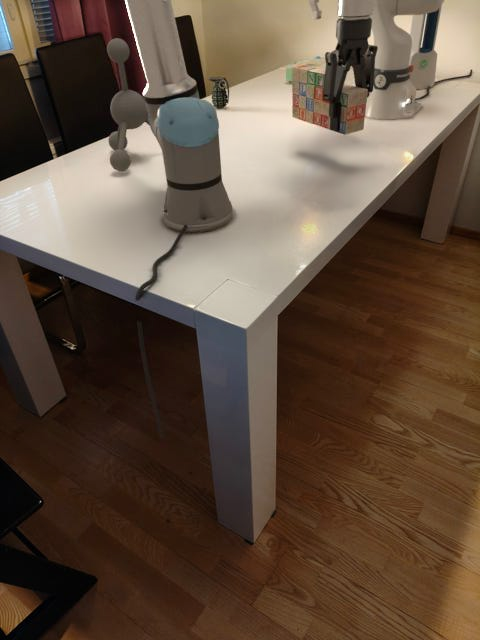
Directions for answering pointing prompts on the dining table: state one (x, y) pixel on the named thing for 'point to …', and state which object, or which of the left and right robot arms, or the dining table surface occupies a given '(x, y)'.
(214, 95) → the grenade
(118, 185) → the dining table surface
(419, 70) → the electronic device
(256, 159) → the dining table surface
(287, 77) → the decorative block
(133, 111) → the molecular model
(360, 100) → the stack of blocks
